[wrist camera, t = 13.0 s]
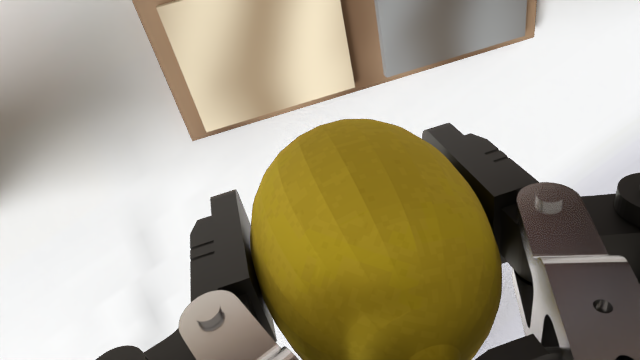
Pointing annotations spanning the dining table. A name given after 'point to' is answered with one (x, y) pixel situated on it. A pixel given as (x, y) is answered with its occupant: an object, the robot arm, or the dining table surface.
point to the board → (310, 49)
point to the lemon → (373, 248)
